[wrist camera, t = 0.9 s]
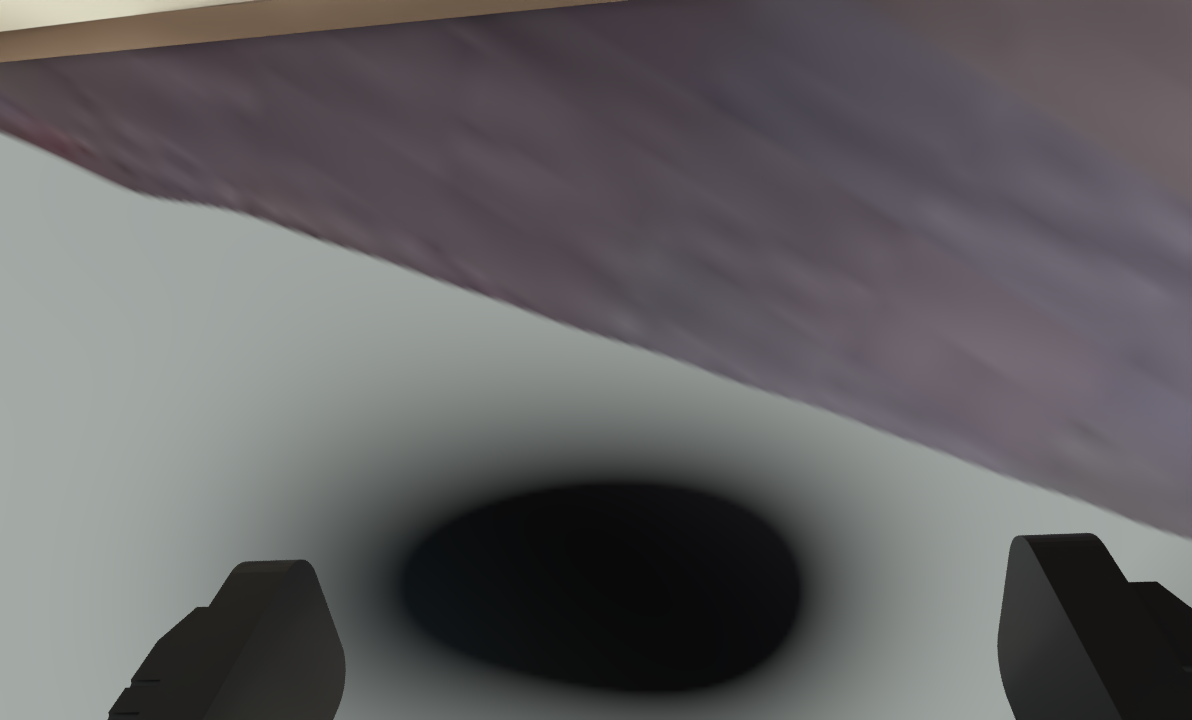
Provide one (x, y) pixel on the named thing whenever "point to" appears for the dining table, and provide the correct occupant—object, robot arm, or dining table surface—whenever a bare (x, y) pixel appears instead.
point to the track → (210, 20)
